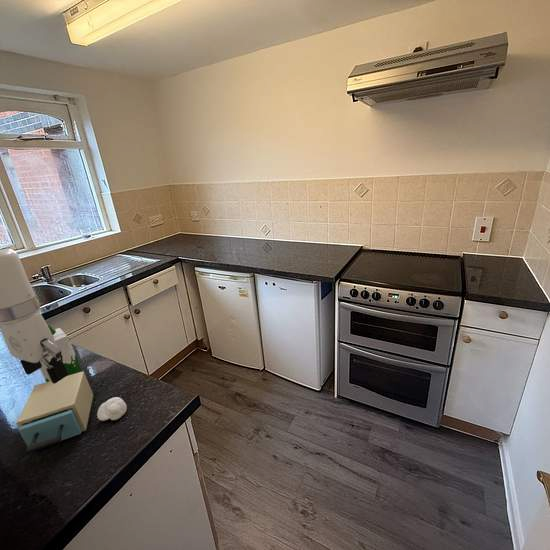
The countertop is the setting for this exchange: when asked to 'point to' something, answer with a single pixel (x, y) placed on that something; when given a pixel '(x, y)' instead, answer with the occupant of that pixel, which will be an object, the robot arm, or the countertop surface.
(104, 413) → the dumpling
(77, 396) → the cabinet
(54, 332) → the milk carton
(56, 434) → the drawer
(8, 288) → the robot arm
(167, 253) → the countertop surface
